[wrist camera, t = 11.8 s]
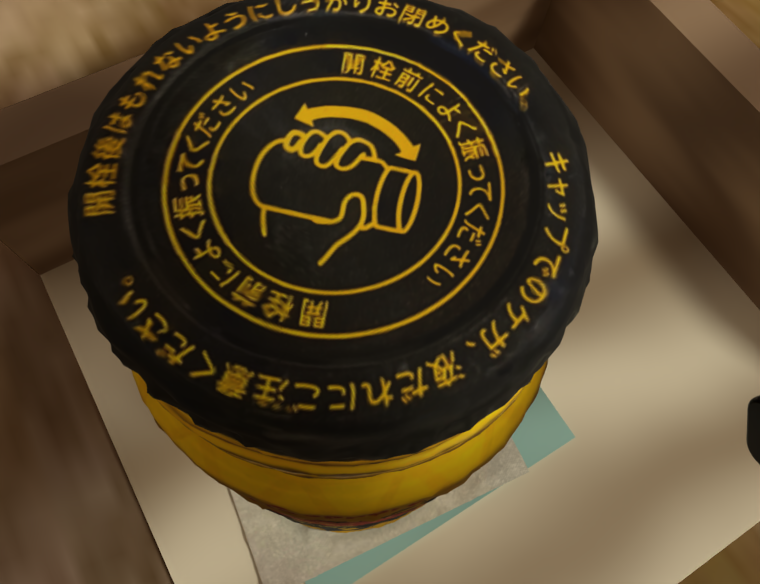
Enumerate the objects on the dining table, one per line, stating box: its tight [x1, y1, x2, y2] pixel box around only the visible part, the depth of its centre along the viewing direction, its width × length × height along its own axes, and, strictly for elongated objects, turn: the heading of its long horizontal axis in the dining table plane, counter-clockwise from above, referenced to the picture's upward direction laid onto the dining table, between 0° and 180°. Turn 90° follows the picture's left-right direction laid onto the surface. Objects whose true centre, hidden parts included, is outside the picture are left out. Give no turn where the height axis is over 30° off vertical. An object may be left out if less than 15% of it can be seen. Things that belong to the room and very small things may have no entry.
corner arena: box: [0, 0, 760, 584], centre depth 16 cm, size 18×20×5 cm
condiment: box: [68, 0, 598, 584], centre depth 12 cm, size 7×8×12 cm
